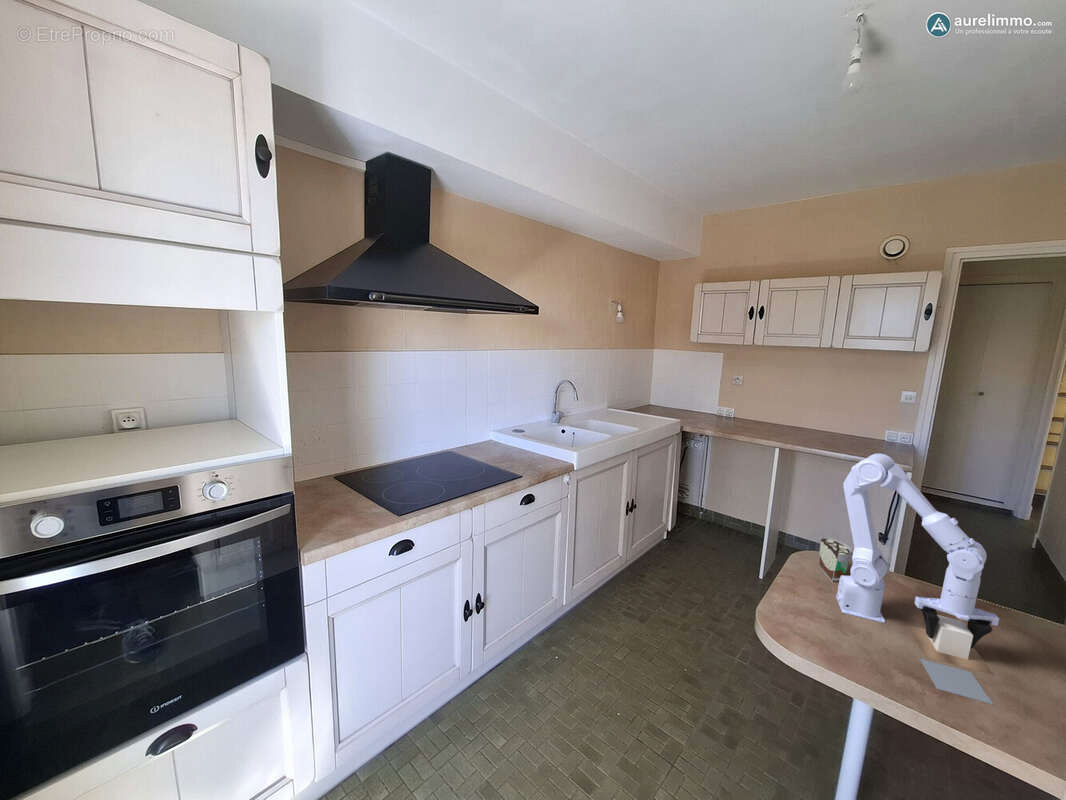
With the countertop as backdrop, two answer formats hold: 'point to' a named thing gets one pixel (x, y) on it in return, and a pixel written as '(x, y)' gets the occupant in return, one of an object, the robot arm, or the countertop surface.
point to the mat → (955, 681)
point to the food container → (834, 558)
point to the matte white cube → (952, 637)
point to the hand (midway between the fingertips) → (948, 640)
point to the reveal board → (930, 652)
